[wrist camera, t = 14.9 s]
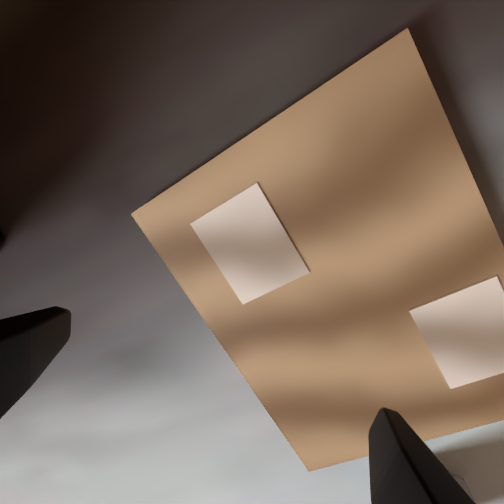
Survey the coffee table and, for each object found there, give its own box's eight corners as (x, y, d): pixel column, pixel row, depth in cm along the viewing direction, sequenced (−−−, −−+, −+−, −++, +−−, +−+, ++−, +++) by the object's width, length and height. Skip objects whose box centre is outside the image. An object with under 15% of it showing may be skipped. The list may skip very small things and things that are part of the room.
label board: (141, 209, 20) (129, 214, 18) (400, 36, 15) (408, 27, 13) (309, 455, 24) (308, 473, 22) (556, 386, 19) (573, 403, 17)
